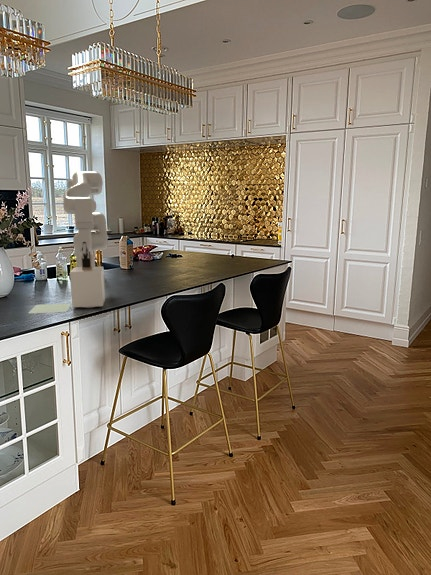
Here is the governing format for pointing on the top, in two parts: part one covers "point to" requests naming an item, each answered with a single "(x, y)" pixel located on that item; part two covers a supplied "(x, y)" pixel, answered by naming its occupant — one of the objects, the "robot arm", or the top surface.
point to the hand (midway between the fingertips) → (87, 266)
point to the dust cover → (87, 286)
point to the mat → (50, 308)
